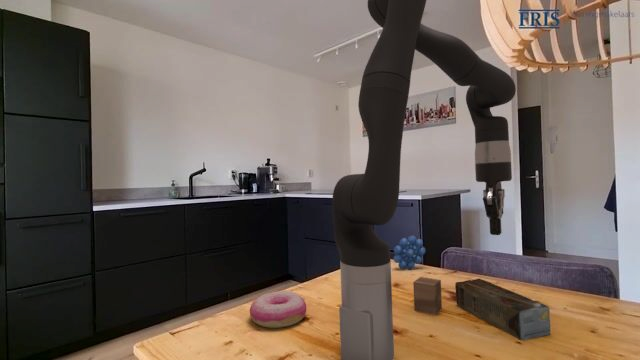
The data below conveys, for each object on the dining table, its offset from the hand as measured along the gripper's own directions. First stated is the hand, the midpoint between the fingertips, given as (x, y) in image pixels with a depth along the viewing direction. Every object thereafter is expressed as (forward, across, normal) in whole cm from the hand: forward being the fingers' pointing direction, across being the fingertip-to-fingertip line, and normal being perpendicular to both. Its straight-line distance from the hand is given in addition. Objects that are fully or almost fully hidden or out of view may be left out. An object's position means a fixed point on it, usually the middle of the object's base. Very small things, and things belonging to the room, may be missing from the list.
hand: (495, 234), depth 75 cm
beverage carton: (+19, -4, 0) cm, 19 cm away
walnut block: (+18, -8, +14) cm, 24 cm away
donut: (+18, -32, +41) cm, 56 cm away
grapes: (+18, +24, +32) cm, 44 cm away
